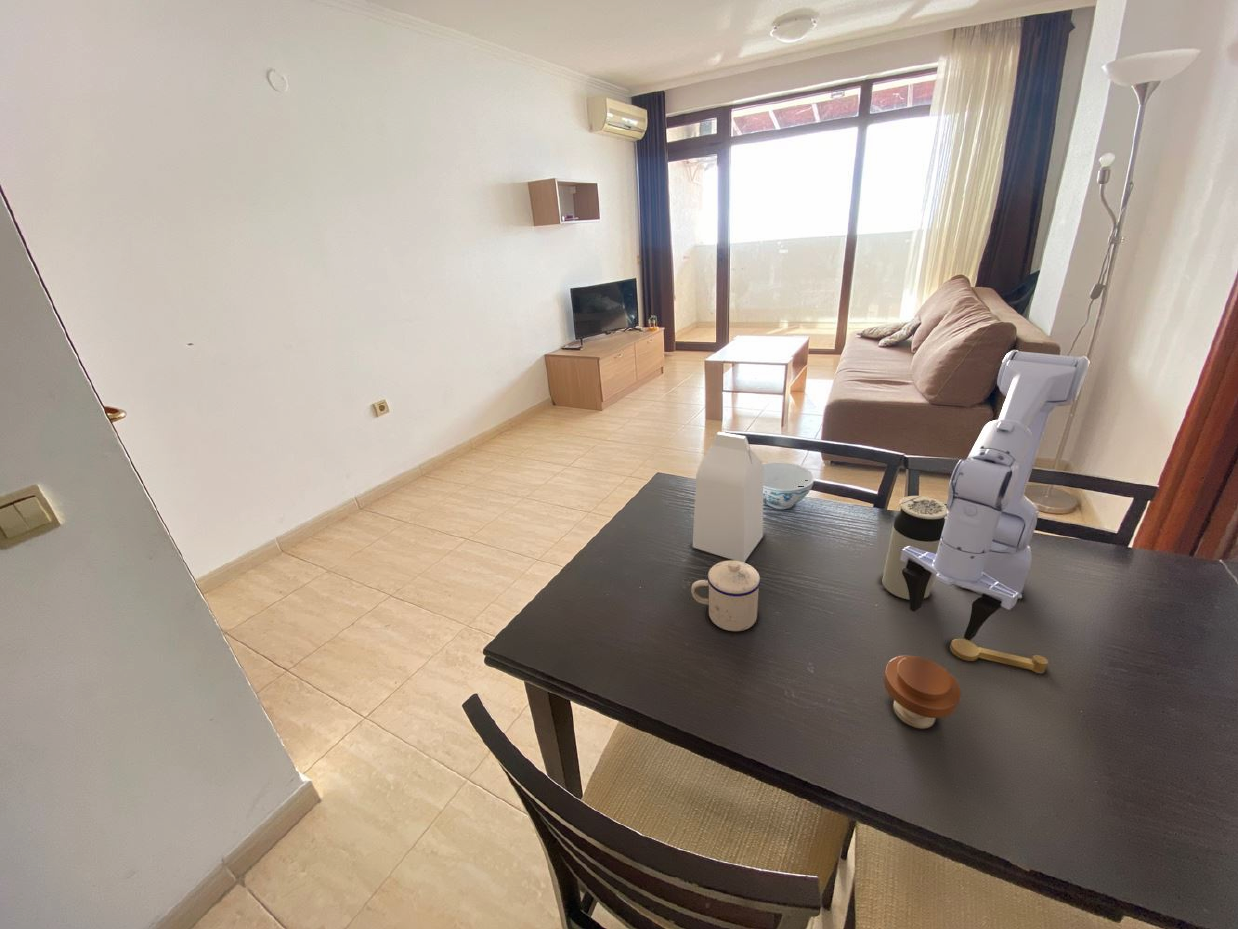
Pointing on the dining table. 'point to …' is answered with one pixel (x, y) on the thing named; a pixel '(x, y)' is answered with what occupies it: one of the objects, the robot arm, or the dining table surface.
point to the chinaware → (785, 484)
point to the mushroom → (921, 690)
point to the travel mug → (913, 538)
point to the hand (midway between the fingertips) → (941, 622)
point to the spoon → (996, 656)
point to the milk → (729, 499)
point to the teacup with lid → (731, 595)
